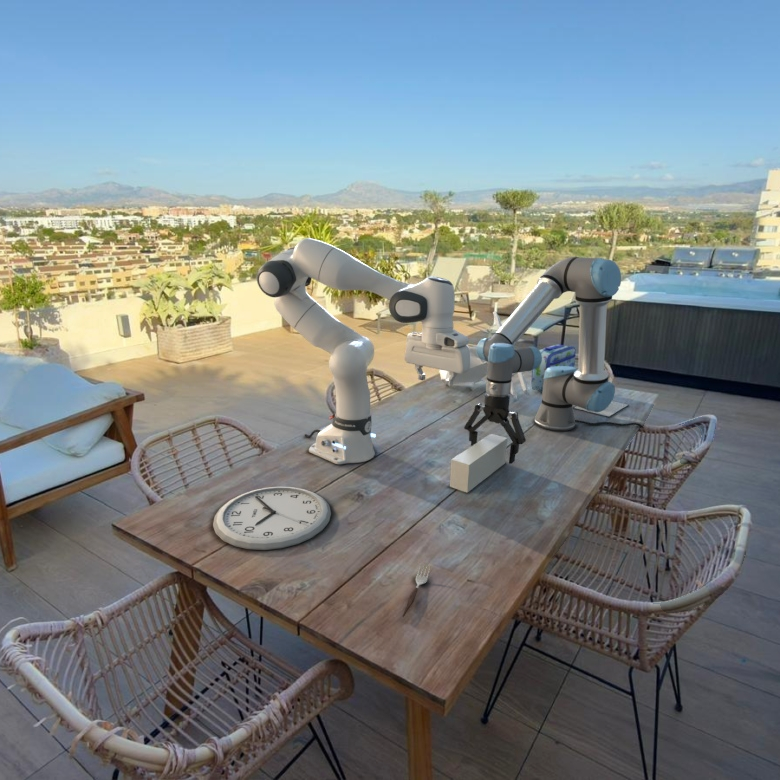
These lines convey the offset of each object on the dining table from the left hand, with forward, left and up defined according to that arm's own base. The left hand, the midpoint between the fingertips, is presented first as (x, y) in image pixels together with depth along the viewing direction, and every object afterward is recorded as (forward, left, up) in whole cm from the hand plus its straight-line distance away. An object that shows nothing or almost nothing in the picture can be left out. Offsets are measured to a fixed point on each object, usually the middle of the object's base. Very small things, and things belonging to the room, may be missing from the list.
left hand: (435, 382), depth 152 cm
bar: (+12, +9, -30) cm, 33 cm away
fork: (+22, -51, -30) cm, 63 cm away
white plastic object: (-19, +89, -30) cm, 96 cm away
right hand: (+13, +18, -27) cm, 35 cm away
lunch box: (+8, +113, -30) cm, 117 cm away
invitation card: (+33, +99, -30) cm, 108 cm away
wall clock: (-24, -44, -30) cm, 58 cm away
